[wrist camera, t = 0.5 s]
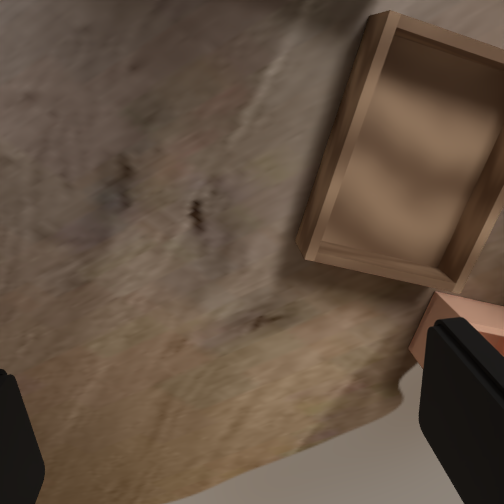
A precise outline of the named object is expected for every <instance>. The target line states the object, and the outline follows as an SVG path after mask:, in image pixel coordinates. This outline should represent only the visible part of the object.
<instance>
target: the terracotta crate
mask: <svg viewBox="0 0 504 504" xmlns="http://www.w3.org/2000/svg"><path fill="white" fill-rule="evenodd" d="M455 317H463V318H465V319H466V320H467V321H468V322H469V323H470V324H471V325H472V326H473V327H474V328H475V329H476V330H477V331H478V332H479V333H480V334H481V335H482V336H483V337H484V338H485V339H486V340H487V341H488V342H489V343H490V344H491V345H492V346H493V347H494V348H495V349H496V350H497V351H498V352H499V353H500V354H501V355H502V356H503V357H504V306H500V305H496V304H491V303H487V302H482V301H478V300H473V299H469V298H464V297H460V296H455V295H451V294H446V293H441V292H437V291H435V292H434V294H433V296H432V298H431V300H430V303H429V305H428V307H427V309H426V311H425V313H424V315H423V318H422V320H421V322H420V324H419V326H418V328H417V330H416V332H415V335H414V337H413V339H412V341H411V343H410V345H409V347H408V349H409V350H410V352H411V353H412V354H413V356H414V357H415V359H416V360H417V361H418V363H419V364H420V366H421V367H422V368H423V367H424V357H425V348H426V338H427V330H428V328H429V327H431V326H434V323H435V321H436V320H438V319H446V318H455Z"/></svg>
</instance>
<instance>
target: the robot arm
mask: <svg viewBox="0 0 504 504" xmlns="http://www.w3.org/2000/svg"><path fill="white" fill-rule="evenodd" d="M419 424H420V427H421V430H422V432H423V434H424V436H425V438H426V439H427V441H428V443H429V444H430V446H431V448H432V449H433V451H434V453H435V455H436V456H437V458H438V460H439V461H440V463H441V465H442V466H443V468H444V470H445V472H446V473H447V475H448V477H449V478H450V480H451V482H452V484H453V485H454V487H455V489H456V490H457V492H458V494H459V496H460V497H461V499H462V501H463V502H464V504H504V357H503V356H502V355H501V354H500V353H499V352H498V351H497V350H496V349H495V348H494V347H493V346H492V345H491V344H490V343H489V342H488V341H487V340H486V339H485V338H484V337H483V336H482V335H481V334H480V333H479V332H478V331H477V330H476V329H475V328H474V327H473V326H472V325H471V324H470V323H469V322H468V321H467V320H466V319H465V318H463V317H455V318H446V319H438V320H436V321H435V323H434V326H431V327H429V328H428V330H427V338H426V348H425V357H424V367H423V377H422V387H421V397H420V407H419ZM44 475H45V466H44V462H43V459H42V456H41V453H40V450H39V447H38V444H37V441H36V438H35V435H34V432H33V429H32V426H31V423H30V420H29V417H28V414H27V411H26V408H25V405H24V402H23V399H22V396H21V393H20V390H19V387H18V384H17V381H16V379H15V377H14V376H13V375H11V374H10V375H7V373H6V371H5V370H3V369H0V504H35V502H36V499H37V497H38V494H39V491H40V489H41V486H42V484H43V480H44Z"/></svg>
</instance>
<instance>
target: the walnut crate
mask: <svg viewBox="0 0 504 504" xmlns="http://www.w3.org/2000/svg"><path fill="white" fill-rule="evenodd" d="M503 206H504V50H503V49H501V48H498V47H495V46H492V45H489V44H486V43H483V42H480V41H478V40H475V39H472V38H469V37H466V36H463V35H460V34H457V33H455V32H452V31H449V30H446V29H443V28H440V27H437V26H434V25H432V24H429V23H426V22H423V21H420V20H417V19H414V18H411V17H408V16H406V15H403V14H400V13H397V12H394V11H391V10H389V11H385V12H382V13H378V14H374V15H370V16H369V19H368V22H367V25H366V28H365V31H364V34H363V37H362V40H361V43H360V46H359V49H358V52H357V55H356V58H355V61H354V64H353V67H352V70H351V73H350V76H349V79H348V82H347V85H346V88H345V91H344V94H343V97H342V100H341V103H340V106H339V109H338V112H337V115H336V118H335V121H334V124H333V127H332V130H331V133H330V136H329V140H328V143H327V146H326V149H325V152H324V155H323V158H322V161H321V164H320V167H319V170H318V173H317V176H316V179H315V182H314V185H313V188H312V191H311V194H310V197H309V200H308V203H307V206H306V209H305V212H304V215H303V218H302V221H301V224H300V227H299V230H298V233H297V236H296V239H295V242H296V244H297V246H298V248H299V250H300V251H301V253H302V255H303V257H304V259H305V260H310V261H314V262H319V263H324V264H328V265H333V266H337V267H342V268H346V269H351V270H355V271H360V272H364V273H369V274H373V275H378V276H382V277H387V278H391V279H396V280H400V281H405V282H409V283H414V284H418V285H423V286H427V287H432V288H436V289H441V290H445V291H450V292H454V293H459V294H461V291H462V289H463V287H464V285H465V283H466V281H467V279H468V277H469V275H470V273H471V271H472V269H473V267H474V265H475V263H476V261H477V259H478V257H479V255H480V253H481V251H482V249H483V247H484V245H485V243H486V241H487V239H488V236H489V234H490V232H491V230H492V228H493V226H494V224H495V222H496V220H497V218H498V216H499V214H500V212H501V210H502V208H503Z"/></svg>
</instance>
